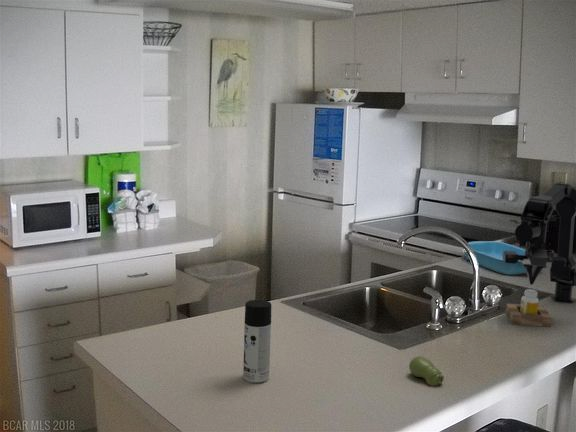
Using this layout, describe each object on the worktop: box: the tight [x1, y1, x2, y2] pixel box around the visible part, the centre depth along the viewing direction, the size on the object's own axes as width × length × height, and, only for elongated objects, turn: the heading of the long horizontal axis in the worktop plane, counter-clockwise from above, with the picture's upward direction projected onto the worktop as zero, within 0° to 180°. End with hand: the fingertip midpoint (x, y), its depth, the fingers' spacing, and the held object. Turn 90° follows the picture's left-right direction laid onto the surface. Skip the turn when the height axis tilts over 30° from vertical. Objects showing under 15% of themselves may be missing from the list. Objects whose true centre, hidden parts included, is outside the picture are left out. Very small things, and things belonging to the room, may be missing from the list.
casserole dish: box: [463, 240, 533, 276], centre depth 292 cm, size 37×22×7 cm, turn 22°
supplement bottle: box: [520, 288, 539, 314], centre depth 226 cm, size 5×5×10 cm
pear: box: [408, 356, 444, 387], centre depth 179 cm, size 6×5×10 cm
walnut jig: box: [505, 302, 553, 328], centre depth 227 cm, size 12×12×3 cm
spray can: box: [242, 299, 272, 384], centre depth 175 cm, size 7×7×20 cm
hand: (531, 284), depth 225 cm, fingers closed
